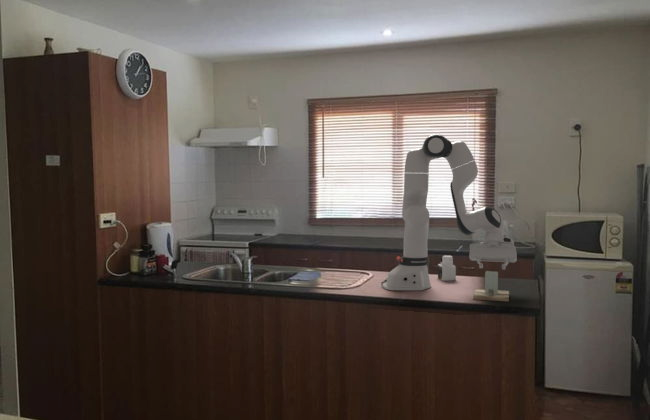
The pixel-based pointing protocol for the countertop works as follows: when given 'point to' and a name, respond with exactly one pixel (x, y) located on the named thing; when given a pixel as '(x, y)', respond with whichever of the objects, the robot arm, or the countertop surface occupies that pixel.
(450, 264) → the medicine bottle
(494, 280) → the block
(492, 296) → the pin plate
